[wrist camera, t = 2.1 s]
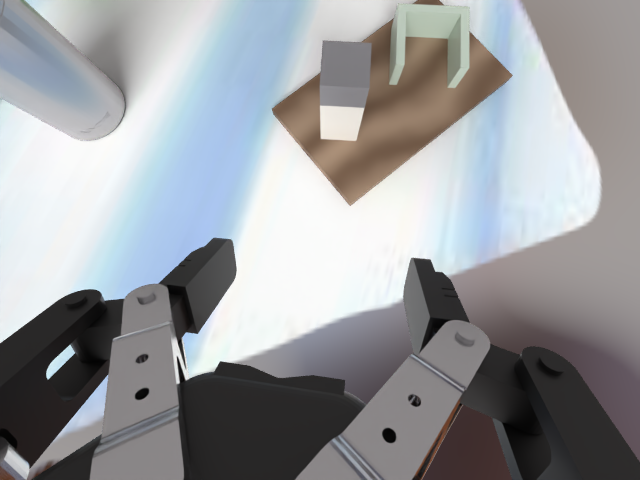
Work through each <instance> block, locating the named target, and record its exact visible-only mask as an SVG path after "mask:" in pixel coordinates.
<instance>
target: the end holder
mask: <svg viewBox="0 0 640 480" xmlns="http://www.w3.org/2000/svg"><path fill="white" fill-rule="evenodd" d="M405 36H406V37H425V38H445V39H448V70H447V88H456V86H457V85H458V83H459V82H460V80H461V79H462V78H463V76H464V75H465V73H466V72H467V71H468V69H469V7H462V6H442V5H421V4H400V3H398V6H397V10H396V13H395V17H394V20H393V24H392V28H391V45H390V70H389V85H397V83H398V80H399V78H400V75H401V73H402V70H403V67H404V65H405Z"/></svg>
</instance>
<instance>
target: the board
mask: <svg viewBox="0 0 640 480" xmlns="http://www.w3.org/2000/svg"><path fill="white" fill-rule="evenodd" d="M414 4H421V5H442V6H444V5H443V4H442V3H441V2H440V1H439V0H418V1H416V2H415V3H414ZM393 20H394V18H393V19H392V20H391V21H389V22H388V23H387V24H385V25H384V26H383V27H381V28H380V29H379V30H377V31H376V32H375V33H373V34H372V35H370V36H369V37H368V38H366V39H365V40H364V41H362V42H361V43H372V45H371V66H370V86H369V92H368V96H367V100H366V104H365V108H364V112H363V116H362V120H361V124H360V128H359V132H358V136H357V140H356V141H347V140H330V139H321V131H320V74H321V73H319V74H318V75H317V76H315V77H314V78H313V79H311V80H310V81H309V82H307V83H306V84H305V85H303V86H302V87H301V88H299V89H298V90H296V91H295V92H294V93H292V94H291V95H290V96H288V97H287V98H286V99H284V100H283V101H282V102H280V103H279V104H278V105H276V106H275V107H274V108H272V111H273V114H274V115H275V117H276V118H277V119H278V120H279V121H280V123H281V124H282V125H283V126H284V127H285V129H286V130H287V131H288V132H289V133H290V135H291V136H292V137H293V138H294V139H295V141H296V142H297V143H298V144H299V145H300V147H301V148H302V149H303V150H304V151H305V152H306V154H307V155H308V156H309V157H310V158H311V160H312V161H313V162H314V163H315V164H316V166H317V167H318V168H319V169H320V170H321V172H322V173H323V174H324V175H325V176H326V178H327V179H328V180H329V181H330V182H331V184H332V185H333V186H334V187H335V188H336V190H337V191H338V192H339V193H340V194H341V196H342V197H343V198H344V199H345V200H346V202H347V203H348V204H349V205H350V206H351V205H352V204H353V203H354V202H356V201H357V200H358V199H359V198H361V197H362V196H363V195H365V194H366V193H367V192H368V191H370V190H371V189H372V188H373V187H375V186H376V185H377V184H378V183H380V182H381V181H382V180H383V179H385V178H386V177H387V176H388V175H390V174H391V173H392V172H394V171H395V170H396V169H397V168H399V167H400V166H401V165H402V164H404V163H405V162H406V161H407V160H409V159H410V158H411V157H412V156H414V155H415V154H416V153H417V152H419V151H420V150H421V149H423V148H424V147H425V146H426V145H428V144H429V143H430V142H431V141H433V140H434V139H435V138H436V137H438V136H439V135H440V134H441V133H443V132H444V131H445V130H447V129H448V128H449V127H450V126H452V125H453V124H454V123H455V122H457V121H458V120H459V119H460V118H462V117H463V116H464V115H465V114H467V113H468V112H469V111H470V110H472V109H473V108H474V107H476V106H477V105H478V104H479V103H481V102H482V101H483V100H484V99H486V98H487V97H488V96H489V95H491V94H492V93H493V92H494V91H496V90H497V89H498V88H500V87H501V86H502V85H503V84H505V83H506V82H507V81H508V80H509V79H510V78H511V77H512V76H513V75H512V74H511V73H510V72H509V71H508V70H507V69H506V68H505V67H504V66H503V65H502V64H501V63H500V62H499V61H498V60H497V59H496V58H495V57H494V56H493V55H492V54H491V53H490V52H489V51H488V50H487V49H486V48H485V47H484V46H483V45H482V44H481V43H480V42H479V41H478V40H477V39H476V38H475V37H474V36H473V34H472V33H471V32H470V31H469V69H468V71H467V72H466V73H465V75H464V76H463V78H462V79H461V80H460V82H459V83H458V85H457V86H456V88H447V70H448V39H445V38H425V37H406V36H405V65H404V67H403V70H402V73H401V75H400V78H399V80H398V83H397V85H389V70H390V45H391V28H392V24H393Z"/></svg>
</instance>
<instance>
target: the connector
mask: <svg viewBox="0 0 640 480" xmlns="http://www.w3.org/2000/svg"><path fill="white" fill-rule="evenodd" d="M371 45H372V43H361V42H341V41H323V46H322V60H321V74H320V131H321V139H330V140H347V141H356V140H357V136H358V132H359V128H360V124H361V120H362V116H363V112H364V108H365V104H366V100H367V96H368V92H369V86H370V66H371Z"/></svg>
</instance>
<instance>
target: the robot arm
mask: <svg viewBox="0 0 640 480" xmlns="http://www.w3.org/2000/svg"><path fill="white" fill-rule="evenodd" d="M0 98H1V99H3V100H5V101H7V102H8V103H10V104H12V105H14V106H16V107H18V108H19V109H21V110H23V111H25V112H27V113H29V114H30V115H32V116H34V117H36V118H38V119H40V120H41V121H43V122H45V123H47V124H49V125H50V126H52V127H54V128H56V129H58V130H60V131H62V132H63V133H65V134H67V135H69V136H71V137H73V138H75V139H79V140H86V141H89V140H96V139H99V138H102V137H104V136H106V135H107V134H109V133H110V132H111V131H113V130H114V129H115V128H116V127H117V125H118V124H119V123H120V121H121V119H122V117H123V114H124V110H125V101H124V96H123V94H122V92H121V90H120V89H119V87H118V86H117V85H116V84H115V83H114V82H113V81H112V80H111V79H110V78H108V77H107V76H106V75H105V74H104V73H103V72H102V71H101V70H100V69H99V68H98V67H96V66H95V65H94V64H93V63H92V62H91V61H90V60H89V59H88V58H87V57H86V56H85V55H84V54H82V53H81V52H80V51H79V50H78V49H77V48H76V47H75V46H74V45H73V44H72V43H70V42H69V41H68V40H67V39H66V38H65V37H64V36H63V35H62V34H61V33H60V32H58V31H57V30H56V29H55V28H54V27H53V26H52V25H51V24H50V23H49V22H48V21H47V20H45V19H44V18H43V17H42V16H41V15H40V14H39V13H38V12H37V11H36V10H35V9H33V8H32V7H31V6H30V5H29V4H28V3H27V2H26V1H25V0H0ZM235 276H236V261H235V254H234V246H233V242H232V240H231V239H222V238H213V239H212V240H211V241H210V242H209V243H208V244H207V245H206V246H205V247H201V248H199V249H197V250H195V251H193V252H191V253H190V254H189V255H188V256H187V257H186V258H185V259H184V261H182V262H181V263H180V264H179V265H178V266H177V267H175V268H174V269H173V270H172V271H171V272H170V273H169V274H168V275H167V276H166V277H165V278H164V279H163V280H162V281H161V282H160V283H159V284H149V285H145V286H142V287H139V288H137V289H135V290H133V291H132V292H130V293H129V294H128V295H127V296H126V297H125V299H117V300H108V301H104V299H103V297H102V294H101V293H100V292H99V291H97V290H91V289H89V290H81V291H77V292H74V293H71V294H69V295H67V296H65V297H63V298H61V299H60V300H58V301H57V302H55V303H54V304H53V305H51V306H50V307H49V308H47V309H46V310H45V311H43V312H42V313H41V314H39V315H38V316H37V317H35V318H34V319H33V320H31V321H30V322H28V323H27V324H26V325H24V326H23V327H22V328H20V329H19V330H18V331H16V332H15V333H14V334H12V335H11V336H10V337H8V338H7V339H6V340H4V341H3V342H2V343H0V480H26V479H27V477H28V474H29V469H30V468H31V467H32V466H33V464H34V463H35V462H36V461H37V460H38V458H39V457H40V456H41V455H42V454H43V452H44V451H45V450H46V449H47V447H48V446H49V445H50V444H51V443H52V441H53V440H54V439H55V438H56V437H57V435H58V434H59V433H60V432H61V431H62V429H63V428H64V427H65V426H66V425H67V423H68V422H69V421H70V420H71V418H72V417H73V416H74V415H75V414H76V412H77V411H78V410H79V409H80V408H81V406H82V405H83V404H84V403H85V402H86V400H87V399H88V398H89V397H90V396H91V394H92V393H93V392H94V391H95V389H96V388H97V387H98V386H99V385H100V383H101V382H102V381H103V380H104V379H105V377H106V376H107V375H108V374H109V375H108V384H107V393H106V402H105V411H104V420H103V430H102V434H101V435H100V436H98V437H96V438H95V439H93V440H92V441H91V442H89V443H87V444H86V445H84V446H83V447H81V448H80V449H78V450H76V451H75V452H73V453H72V454H70V455H69V456H67V457H66V458H64V459H63V460H61V461H59V462H58V463H56V464H55V465H53V466H52V467H50V468H49V469H47V470H46V471H44V472H42V473H41V474H39V475H38V476H36V477H35V478H33V479H32V480H422V478H423V476H424V475H425V473H426V471H427V469H428V467H429V465H430V464H431V462H432V460H433V458H434V456H435V454H436V452H437V450H438V448H439V446H440V444H441V443H442V441H443V439H444V437H445V435H446V434H447V432H448V430H449V428H450V427H451V425H452V423H453V421H454V419H455V418H456V416H457V414H458V412H459V410H460V408H461V407H462V405H465V406H467V407H469V408H472V409H474V410H476V411H478V412H481V413H483V414H485V415H487V416H490V417H492V419H493V422H494V425H495V428H496V431H497V435H498V438H499V441H500V444H501V447H502V450H503V453H504V456H505V459H506V462H507V465H508V468H509V471H510V474H511V477H512V480H640V462H639V460H638V459H637V457H636V456H635V454H634V453H633V452H632V450H631V449H630V447H629V446H628V444H627V443H626V441H625V440H624V438H623V437H622V435H621V434H620V433H619V431H618V430H617V428H616V427H615V425H614V424H613V423H612V421H611V419H610V418H609V417H608V415H607V414H606V412H605V411H604V409H603V408H602V406H601V405H600V404H599V402H598V400H597V399H596V397H595V396H594V394H593V393H592V392H591V390H590V389H589V387H588V386H587V384H586V383H585V381H584V380H583V378H582V377H581V376H580V374H579V373H578V371H577V370H576V369H575V367H574V366H573V365H572V364H571V363H570V362H568V361H567V360H566V359H564V358H563V357H562V356H560V355H558V354H557V353H554V352H553V351H550V350H548V349H545V348H541V347H535V346H533V347H527V348H525V349H524V350H523V351H522V353H521V354H520V355H519V354H516V353H513V352H510V351H507V350H505V349H501V348H499V347H497V346H494V345H492V344H490V341H489V339H488V337H487V336H486V334H485V333H484V332H483V331H482V330H480V329H479V328H478V327H476V326H474V325H473V324H470V322H469V320H468V317H467V315H466V313H465V311H464V308H463V306H462V304H461V302H460V300H459V298H458V295H457V293H456V291H455V288H454V286H453V284H452V282H451V280H450V279H449V278H448V277H447V276H446V275H445V274H444V273H442V272H435V270H434V267H433V265H432V262H431V260H430V259H420V258H411V260H410V264H409V268H408V272H407V277H406V281H405V286H404V295H403V297H404V305H405V311H406V316H407V321H408V327H409V332H410V338H411V343H412V349H413V354H412V355H410V356H409V357H408V358H407V359H406V361H405V362H404V363H403V364H402V365H401V366H400V367H399V369H398V370H397V371H396V372H395V373H394V374H393V375H392V377H391V378H390V379H389V380H388V381H387V382H386V383H385V385H384V386H383V387H382V388H381V389H380V390H379V391H378V393H377V394H376V395H375V396H374V397H373V398H372V400H371V401H370V402H369V403H368V404H367V405H366V404H365V403H364V402H363V401H361V400H360V399H359V398H357V397H356V396H354V395H352V394H351V393H348V392H346V391H344V386H345V380H341V379H334V378H327V377H320V376H314V375H311V376H301V377H289V378H276V377H274V376H272V375H270V374H267V373H265V372H263V371H260V370H258V369H256V368H253V367H251V366H247V365H240V364H234V363H227V362H221V361H220V363H219V364H218V366H217V368H216V370H215V372H209V373H204V374H201V375H198V376H195V377H192V378H190V379H189V373H188V367H187V361H186V354H185V348H184V342H183V339H182V337H183V336H184V334H185V333H186V332H188V333H195V334H198V333H199V331H200V330H201V328H202V327H203V325H204V324H205V322H206V321H207V319H208V318H209V316H210V315H211V313H212V312H213V310H214V309H215V308H216V306H217V305H218V303H219V302H220V300H221V299H222V297H223V296H224V294H225V293H226V291H227V290H228V288H229V287H230V286H231V284H232V283H233V281H234V279H235ZM69 345H71V346H72V348H73V350H74V351H75V354H74V355H73V356H72V357H71V358H70V359H69V360H68V361H67V362H66V363H65V364H64V365H63V366H62V367H61V368H60V369H59V370H58V371H57V372H56V373H55V374H54V375H53V376H52V377H51V378H50V379H47V378H46V371H47V368H48V366H49V365H50V363H51V362H52V361H53V360H54V359H55V358H56V357H57V356H58V355H59V354H60V353H61V352H62V351H63V350H65V349H66V348H67V347H68V346H69Z"/></svg>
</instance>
